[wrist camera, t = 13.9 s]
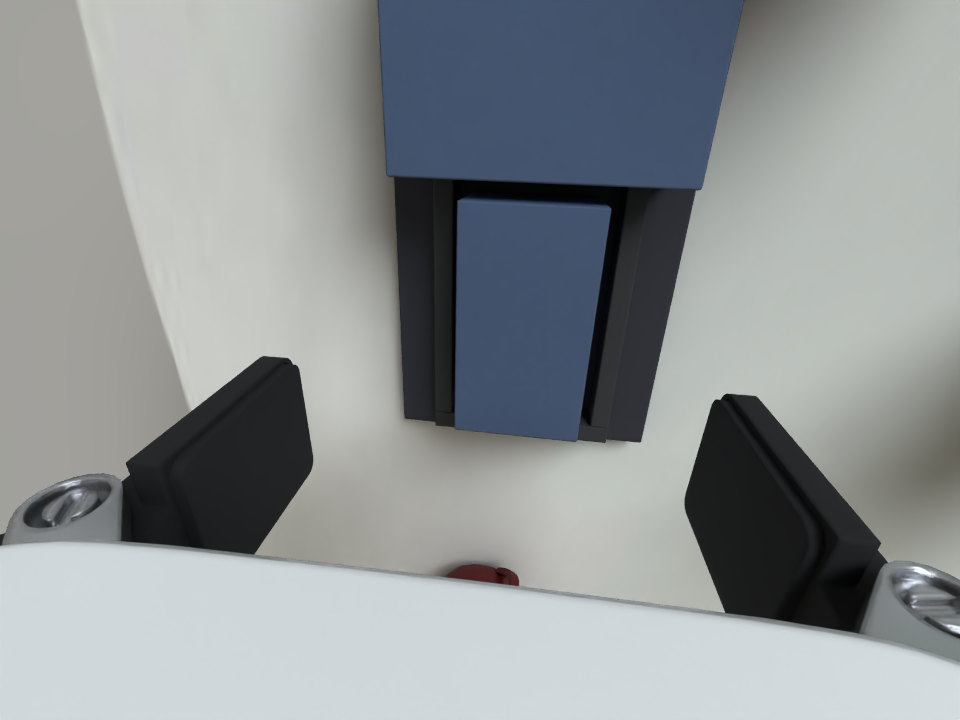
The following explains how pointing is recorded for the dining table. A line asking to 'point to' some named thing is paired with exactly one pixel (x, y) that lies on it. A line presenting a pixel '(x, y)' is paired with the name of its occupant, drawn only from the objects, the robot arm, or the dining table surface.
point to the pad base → (551, 162)
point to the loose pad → (526, 310)
